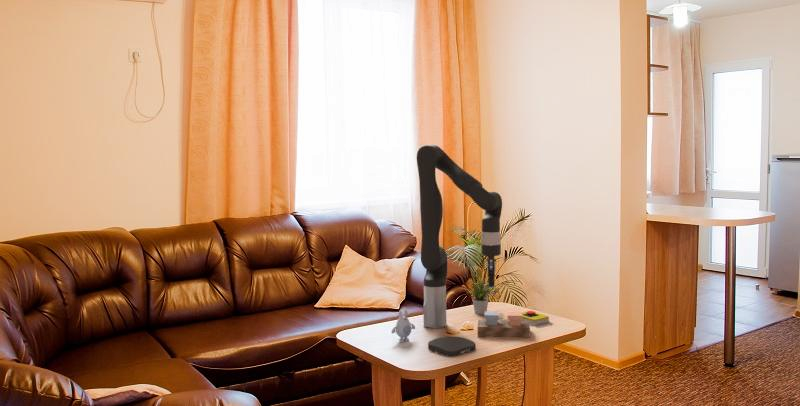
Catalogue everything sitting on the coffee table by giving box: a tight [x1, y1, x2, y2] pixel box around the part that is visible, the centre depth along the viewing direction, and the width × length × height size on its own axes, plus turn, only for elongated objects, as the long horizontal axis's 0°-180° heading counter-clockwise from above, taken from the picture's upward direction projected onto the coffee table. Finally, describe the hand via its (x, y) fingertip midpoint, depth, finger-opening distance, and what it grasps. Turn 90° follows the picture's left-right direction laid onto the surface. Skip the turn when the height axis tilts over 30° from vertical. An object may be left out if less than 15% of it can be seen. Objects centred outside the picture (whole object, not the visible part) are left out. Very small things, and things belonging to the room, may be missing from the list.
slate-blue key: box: [484, 310, 500, 325], centre depth 232 cm, size 6×6×4 cm
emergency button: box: [521, 310, 554, 328], centre depth 248 cm, size 9×4×15 cm
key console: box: [477, 319, 531, 339], centre depth 232 cm, size 20×10×4 cm, turn 81°
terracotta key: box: [507, 311, 523, 326], centre depth 231 cm, size 6×6×4 cm
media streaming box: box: [427, 336, 477, 358], centre depth 215 cm, size 15×15×3 cm
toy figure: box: [391, 309, 416, 343], centre depth 225 cm, size 11×6×12 cm, turn 121°
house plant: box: [467, 276, 496, 315], centre depth 261 cm, size 14×14×16 cm
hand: (491, 286), depth 231 cm, fingers closed
